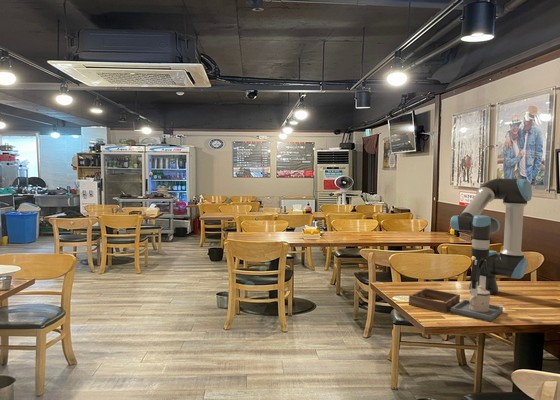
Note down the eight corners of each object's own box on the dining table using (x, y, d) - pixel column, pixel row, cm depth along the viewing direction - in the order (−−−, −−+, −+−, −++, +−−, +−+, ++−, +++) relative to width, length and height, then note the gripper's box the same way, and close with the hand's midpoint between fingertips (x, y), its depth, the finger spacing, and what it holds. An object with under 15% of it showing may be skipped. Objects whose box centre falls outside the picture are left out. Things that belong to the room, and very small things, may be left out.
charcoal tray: (463, 304, 218) (464, 299, 218) (502, 312, 207) (502, 307, 206) (450, 313, 203) (450, 307, 203) (491, 322, 191) (491, 316, 191)
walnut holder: (424, 296, 231) (425, 288, 230) (459, 303, 219) (459, 294, 219) (408, 304, 215) (409, 295, 214) (445, 312, 203) (445, 303, 203)
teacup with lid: (475, 306, 212) (477, 282, 211) (493, 311, 204) (494, 287, 204) (461, 309, 206) (462, 285, 205) (478, 314, 198) (479, 290, 197)
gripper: (479, 244, 215) (477, 285, 216) (463, 250, 196) (461, 296, 197) (495, 245, 210) (493, 288, 212) (481, 252, 191) (479, 299, 193)
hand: (478, 292), depth 204 cm, fingers open, 13 cm apart
